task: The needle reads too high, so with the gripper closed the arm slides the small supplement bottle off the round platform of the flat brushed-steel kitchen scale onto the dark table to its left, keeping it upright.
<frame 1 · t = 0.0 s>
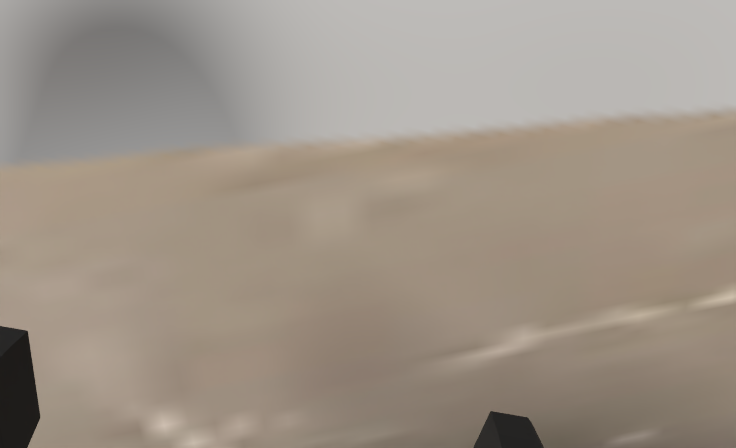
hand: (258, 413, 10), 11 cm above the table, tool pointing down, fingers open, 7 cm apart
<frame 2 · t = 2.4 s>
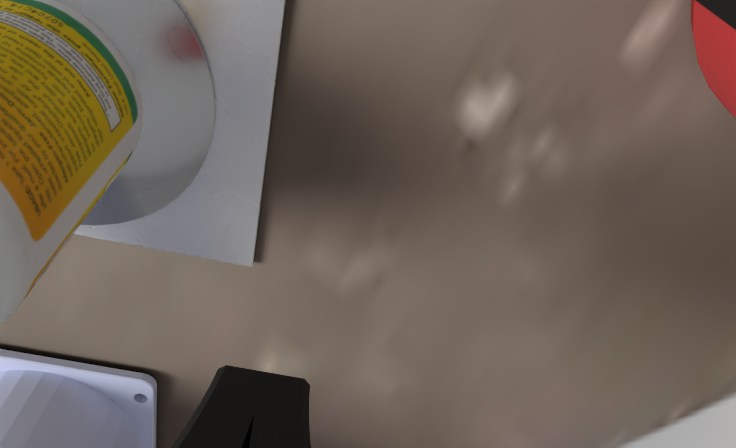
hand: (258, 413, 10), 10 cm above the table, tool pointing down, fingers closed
supplement bottle: (51, 85, 18), resting on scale
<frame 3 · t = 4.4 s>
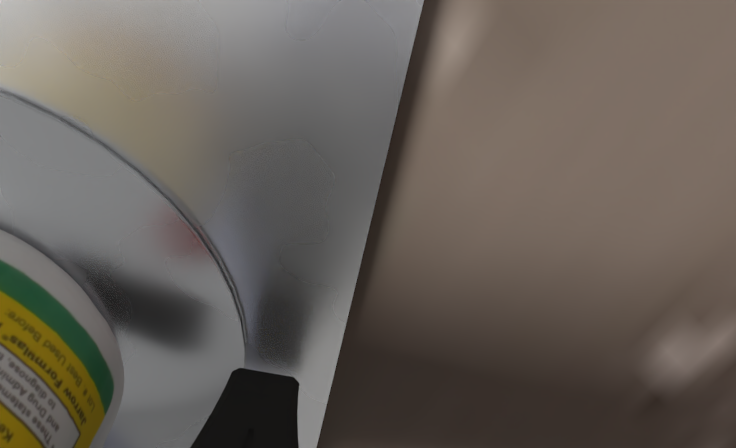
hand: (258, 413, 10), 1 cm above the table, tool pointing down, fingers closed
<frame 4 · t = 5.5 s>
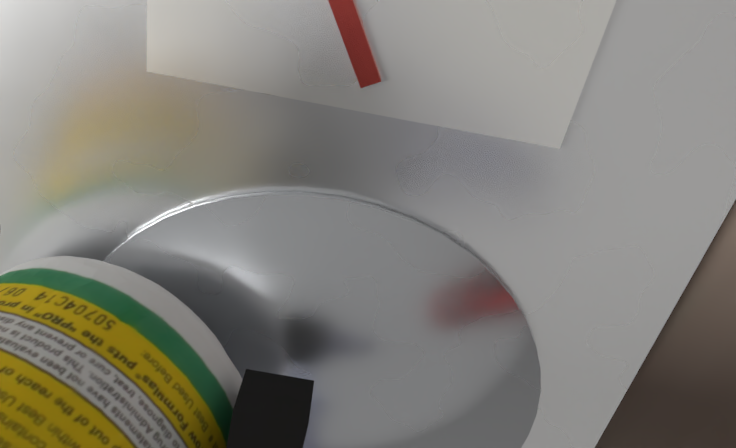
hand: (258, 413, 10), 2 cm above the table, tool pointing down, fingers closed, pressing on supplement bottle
supplement bottle: (131, 370, 12), point 1 cm above the table, touching gripper, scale
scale: (324, 285, 11), on the table
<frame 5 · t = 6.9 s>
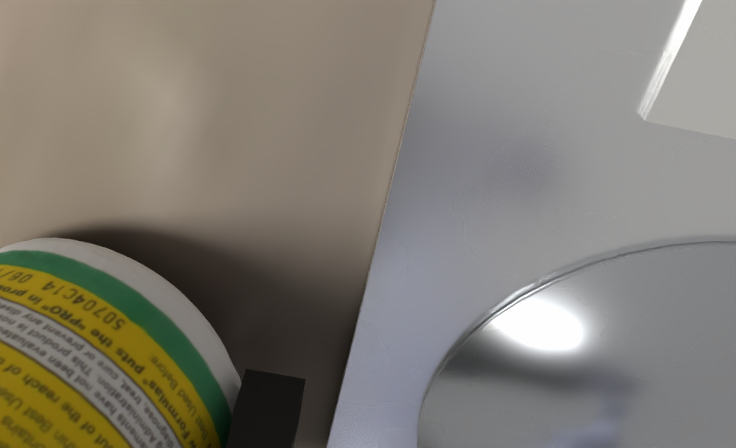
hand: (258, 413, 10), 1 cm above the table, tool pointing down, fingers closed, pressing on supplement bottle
supplement bottle: (123, 355, 11), on the table, touching gripper
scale: (718, 332, 11), on the table
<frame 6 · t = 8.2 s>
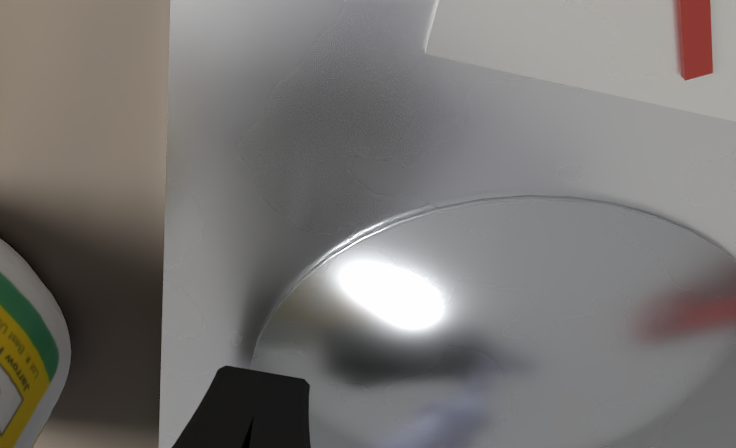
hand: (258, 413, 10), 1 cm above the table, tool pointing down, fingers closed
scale: (555, 299, 10), on the table
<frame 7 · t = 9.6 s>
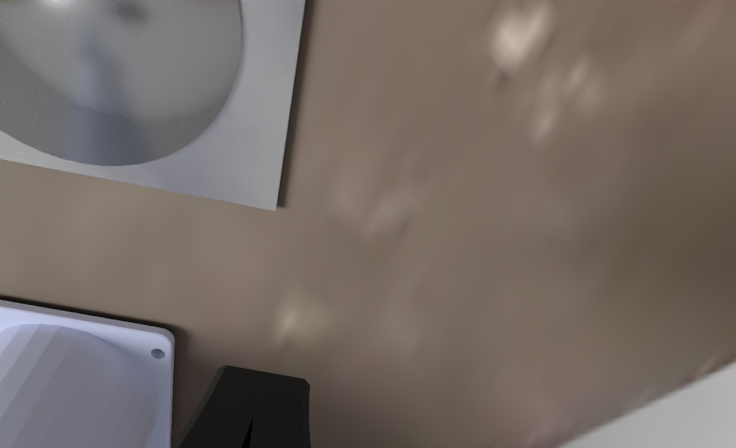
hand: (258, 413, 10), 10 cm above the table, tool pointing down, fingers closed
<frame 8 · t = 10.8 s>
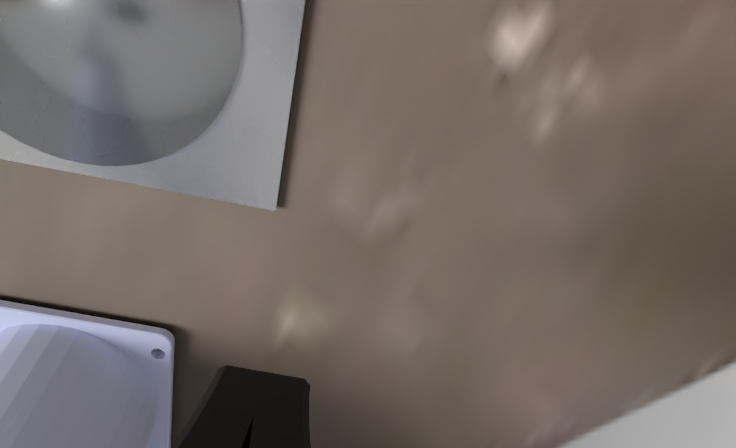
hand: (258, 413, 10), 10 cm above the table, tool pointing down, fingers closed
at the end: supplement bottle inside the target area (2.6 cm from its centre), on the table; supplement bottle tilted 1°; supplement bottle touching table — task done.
